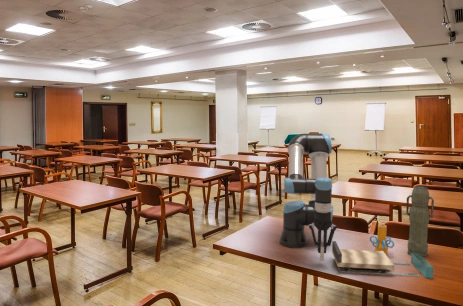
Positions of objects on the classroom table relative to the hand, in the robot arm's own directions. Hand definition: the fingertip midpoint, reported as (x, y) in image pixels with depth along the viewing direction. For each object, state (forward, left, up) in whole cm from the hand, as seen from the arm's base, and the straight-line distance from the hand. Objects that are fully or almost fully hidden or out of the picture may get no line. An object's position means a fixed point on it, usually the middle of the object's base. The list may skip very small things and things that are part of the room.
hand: (321, 259), depth 158 cm
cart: (+18, 0, -3) cm, 18 cm away
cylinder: (+32, +17, -3) cm, 36 cm away
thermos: (+50, +19, -3) cm, 54 cm away
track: (+26, 0, -3) cm, 27 cm away
